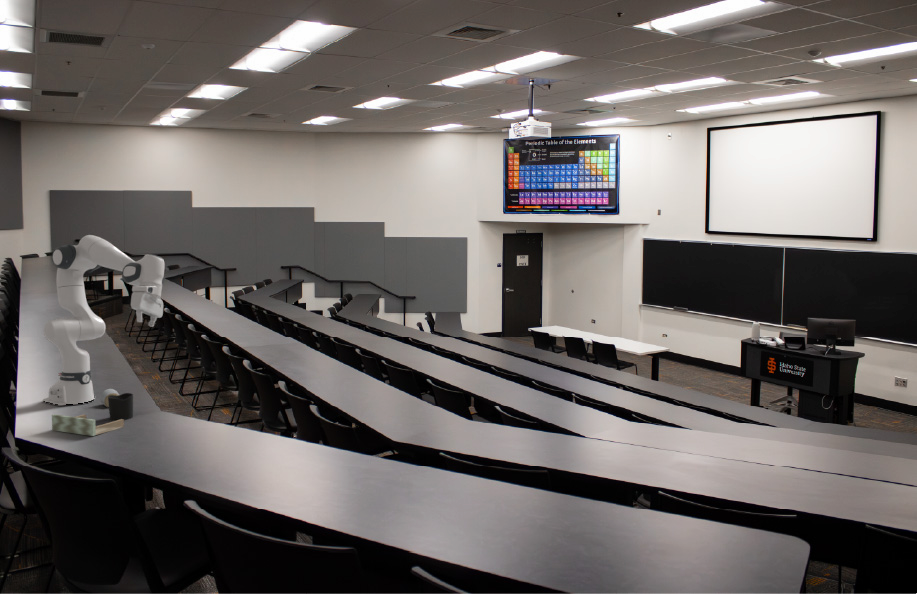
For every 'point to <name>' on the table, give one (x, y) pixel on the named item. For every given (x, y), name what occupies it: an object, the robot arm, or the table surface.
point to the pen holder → (121, 406)
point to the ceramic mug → (105, 396)
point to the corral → (82, 425)
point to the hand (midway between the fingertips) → (145, 324)
